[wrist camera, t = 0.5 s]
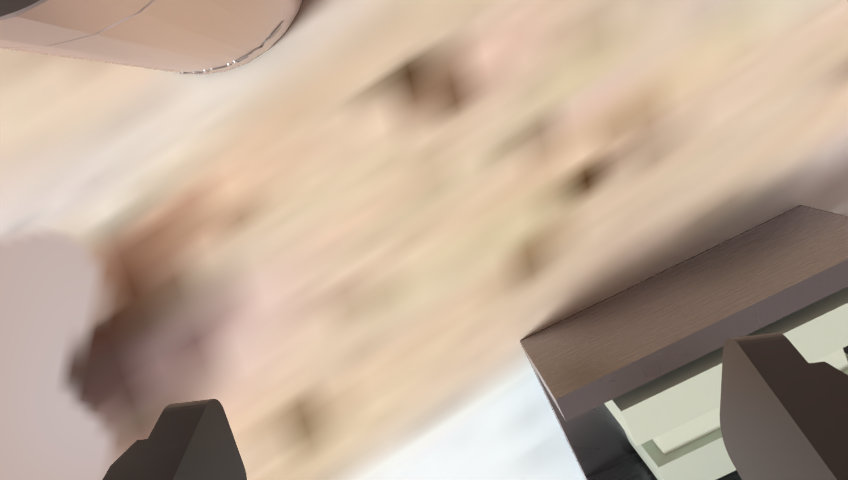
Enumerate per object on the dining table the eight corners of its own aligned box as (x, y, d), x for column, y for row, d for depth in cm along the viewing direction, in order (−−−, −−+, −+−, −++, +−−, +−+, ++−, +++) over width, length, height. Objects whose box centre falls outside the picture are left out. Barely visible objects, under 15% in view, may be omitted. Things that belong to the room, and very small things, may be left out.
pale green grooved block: (579, 359, 30) (621, 411, 25) (785, 260, 29) (868, 293, 24) (619, 447, 31) (666, 513, 26) (818, 352, 30) (903, 400, 26)
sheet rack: (519, 341, 30) (555, 399, 24) (801, 204, 30) (905, 231, 24) (625, 561, 33) (679, 661, 27) (882, 439, 33) (994, 513, 27)
